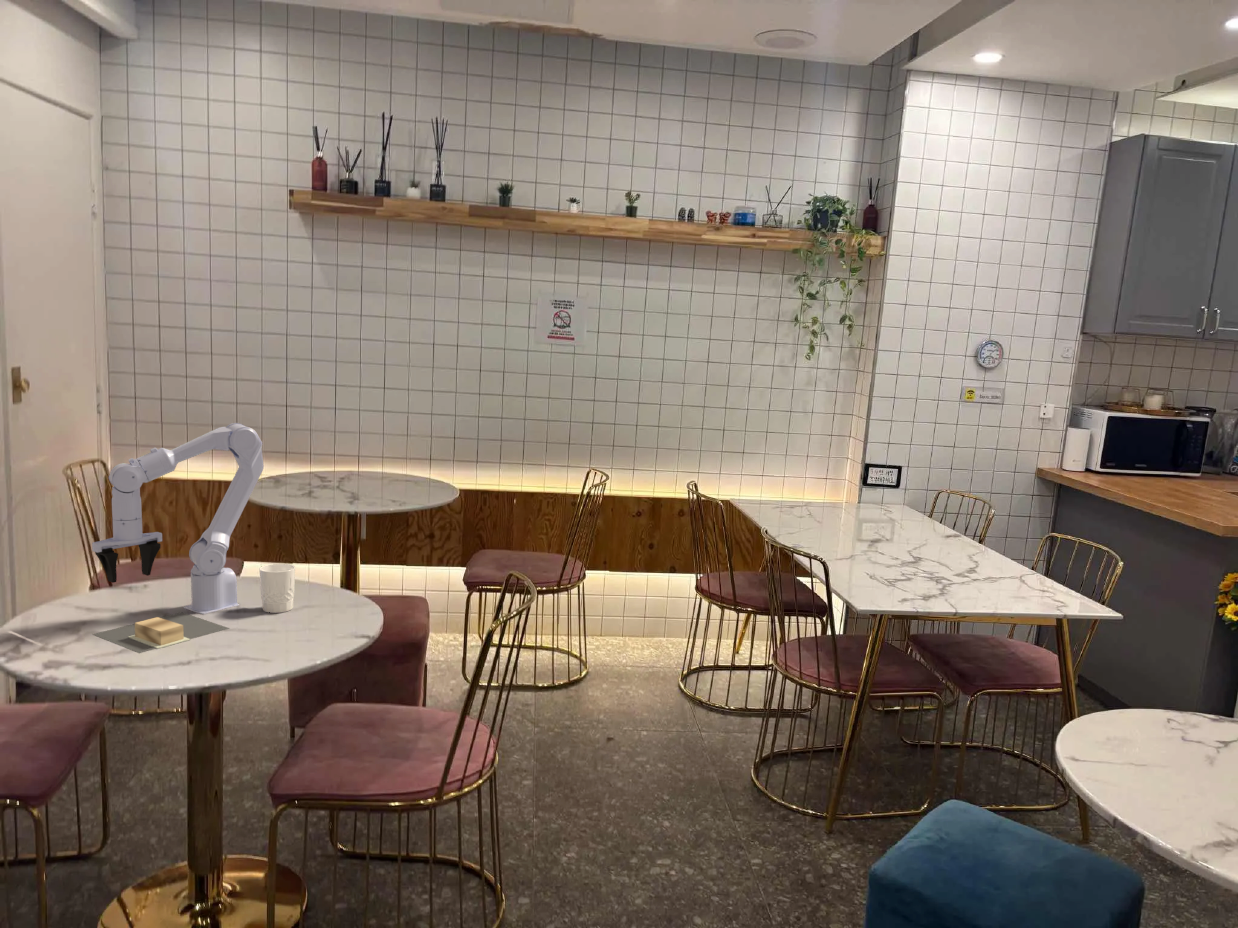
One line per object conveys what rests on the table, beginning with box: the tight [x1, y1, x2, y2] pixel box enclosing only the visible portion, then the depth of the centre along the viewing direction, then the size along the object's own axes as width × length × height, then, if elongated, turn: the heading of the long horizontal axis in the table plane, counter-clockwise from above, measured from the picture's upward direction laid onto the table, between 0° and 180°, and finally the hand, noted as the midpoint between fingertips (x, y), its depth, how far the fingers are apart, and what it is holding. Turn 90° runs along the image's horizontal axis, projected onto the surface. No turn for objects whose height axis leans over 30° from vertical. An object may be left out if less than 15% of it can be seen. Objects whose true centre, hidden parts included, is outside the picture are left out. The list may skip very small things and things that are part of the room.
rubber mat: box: [92, 612, 230, 654], centre depth 195 cm, size 20×18×1 cm
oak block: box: [134, 616, 184, 645], centre depth 190 cm, size 9×5×3 cm, turn 59°
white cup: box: [259, 563, 296, 614], centre depth 214 cm, size 8×8×10 cm
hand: (129, 578), depth 202 cm, fingers open, 7 cm apart
